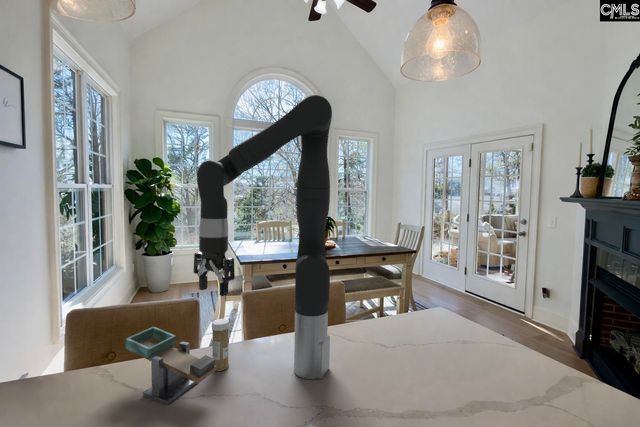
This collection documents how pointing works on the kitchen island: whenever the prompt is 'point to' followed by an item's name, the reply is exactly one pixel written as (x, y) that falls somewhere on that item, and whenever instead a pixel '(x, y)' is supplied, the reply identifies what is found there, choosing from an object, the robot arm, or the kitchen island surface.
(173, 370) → the beam
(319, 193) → the robot arm
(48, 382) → the kitchen island surface
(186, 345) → the fulcrum stand
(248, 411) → the kitchen island surface
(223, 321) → the sprinkles bottle
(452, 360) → the kitchen island surface
